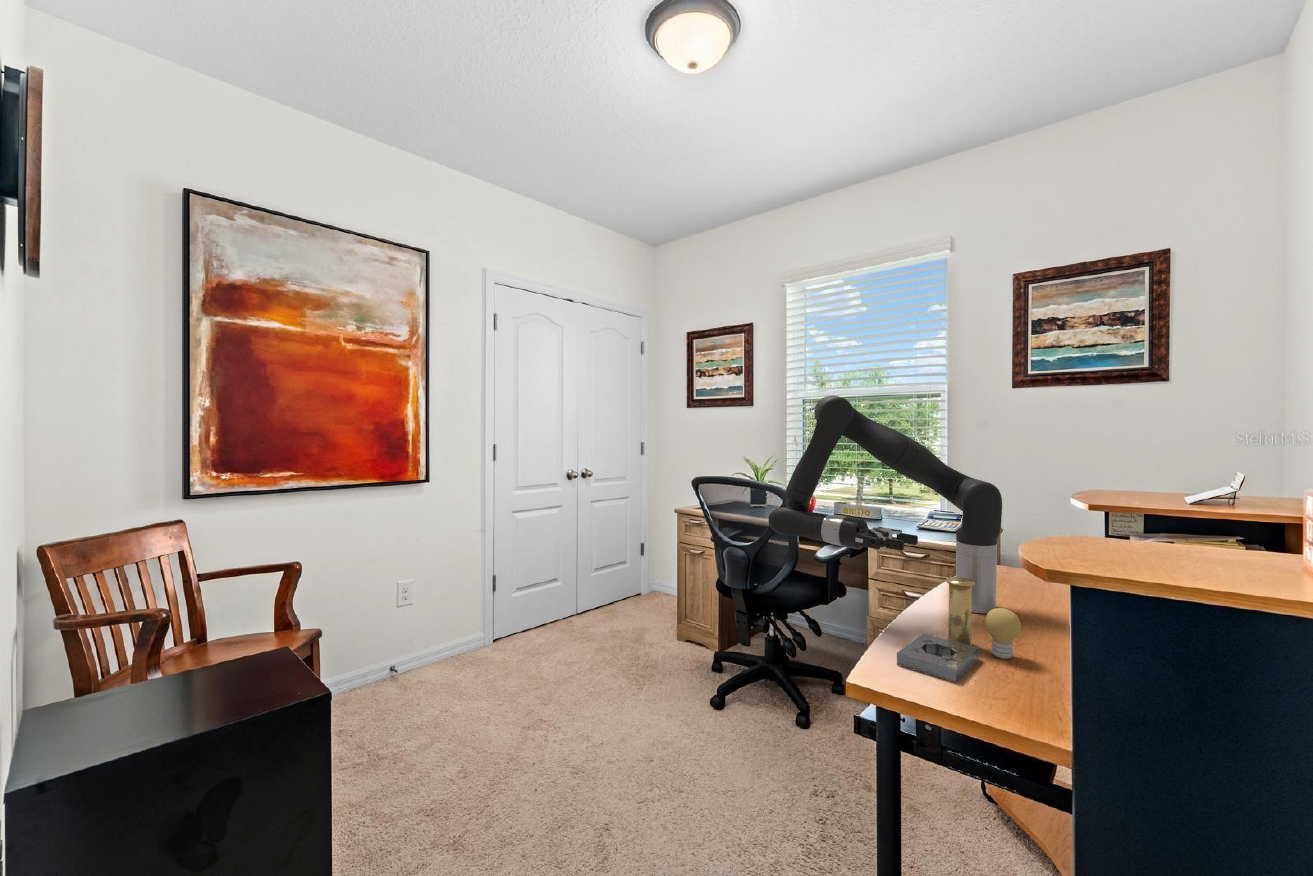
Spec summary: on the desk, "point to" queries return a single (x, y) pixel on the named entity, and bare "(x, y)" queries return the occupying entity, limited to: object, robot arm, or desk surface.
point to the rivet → (960, 609)
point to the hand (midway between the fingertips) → (910, 543)
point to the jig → (938, 657)
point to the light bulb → (1002, 631)
